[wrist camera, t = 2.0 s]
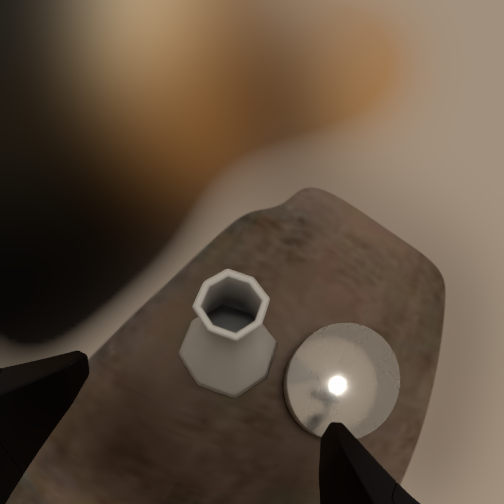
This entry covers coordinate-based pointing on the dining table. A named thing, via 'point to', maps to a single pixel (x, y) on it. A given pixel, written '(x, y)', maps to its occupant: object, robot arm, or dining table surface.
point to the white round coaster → (342, 380)
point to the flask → (229, 335)
